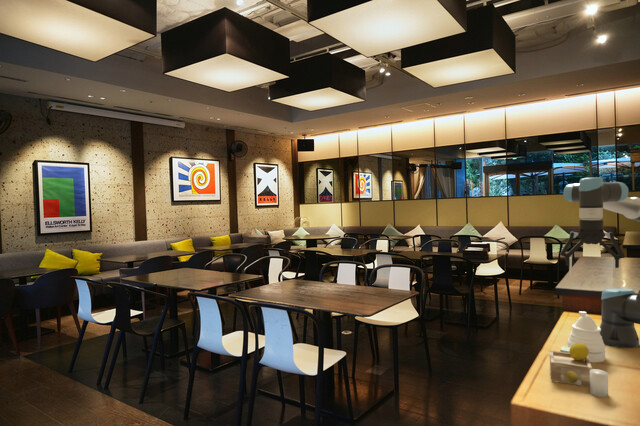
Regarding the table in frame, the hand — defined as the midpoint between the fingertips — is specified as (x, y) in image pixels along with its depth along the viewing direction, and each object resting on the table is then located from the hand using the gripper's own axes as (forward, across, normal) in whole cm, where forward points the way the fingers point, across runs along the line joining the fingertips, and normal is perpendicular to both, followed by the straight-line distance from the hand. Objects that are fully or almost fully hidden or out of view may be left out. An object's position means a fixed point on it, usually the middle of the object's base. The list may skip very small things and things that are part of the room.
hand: (591, 275), depth 159 cm
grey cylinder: (+34, 0, -26) cm, 43 cm away
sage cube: (+34, -8, -1) cm, 35 cm away
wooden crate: (+34, -8, -16) cm, 39 cm away
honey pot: (+34, -2, +9) cm, 35 cm away
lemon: (+26, -7, -17) cm, 32 cm away
